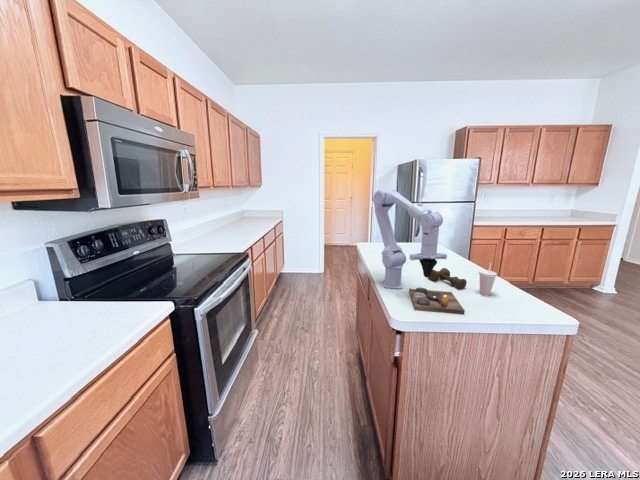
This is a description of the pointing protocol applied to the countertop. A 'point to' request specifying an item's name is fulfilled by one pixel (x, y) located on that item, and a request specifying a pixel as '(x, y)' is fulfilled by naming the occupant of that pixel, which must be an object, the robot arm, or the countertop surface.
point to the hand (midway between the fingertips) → (426, 276)
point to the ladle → (439, 298)
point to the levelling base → (434, 302)
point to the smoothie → (486, 281)
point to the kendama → (447, 278)
